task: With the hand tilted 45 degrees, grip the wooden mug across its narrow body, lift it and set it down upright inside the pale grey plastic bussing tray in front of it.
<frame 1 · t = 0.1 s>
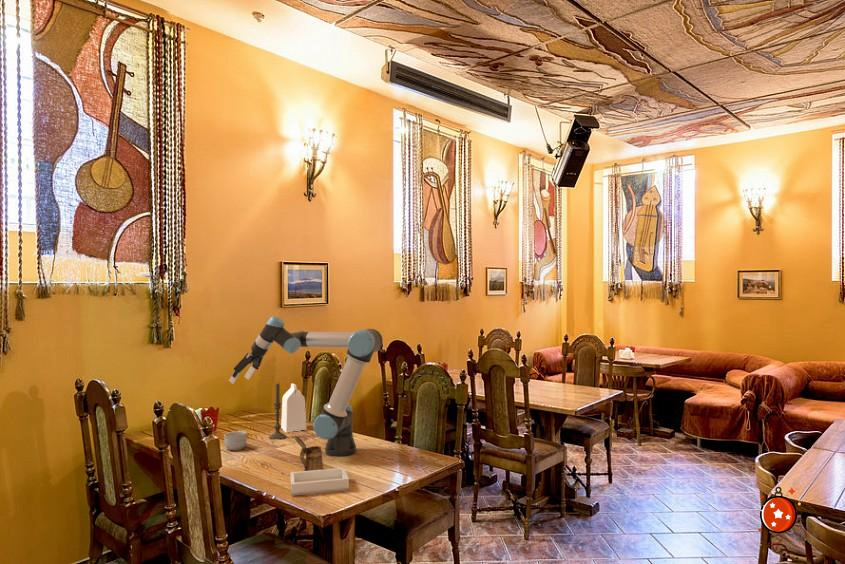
hand: (238, 380, 272), 36 cm above the table, tool tilted 35°, fingers open, 13 cm apart
teacup: (236, 448, 282), on the table
wooden mug: (309, 475, 238), on the table
candlestick holder: (277, 438, 302), on the table
tray: (319, 486, 223), on the table
milk: (293, 429, 321), on the table
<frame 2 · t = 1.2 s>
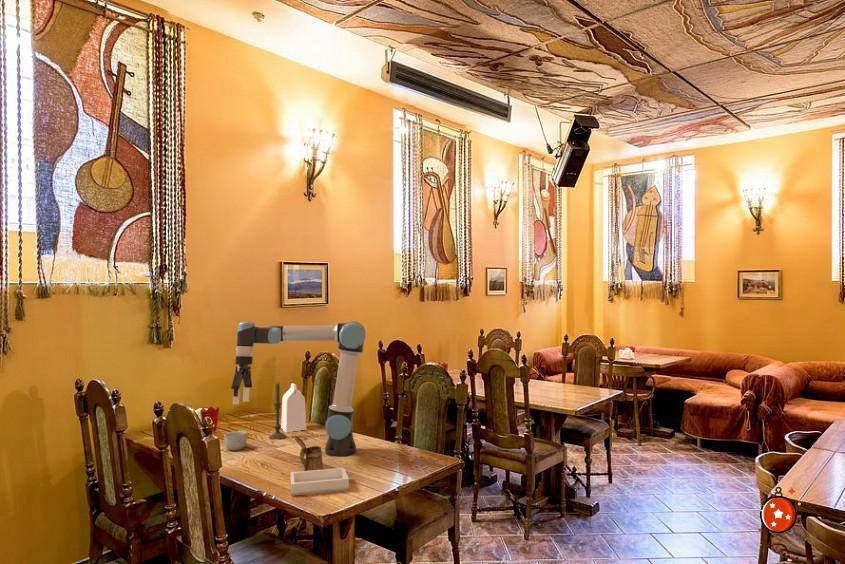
hand: (240, 402, 253), 28 cm above the table, tool pointing down, fingers open, 13 cm apart
nothing on the table moved.
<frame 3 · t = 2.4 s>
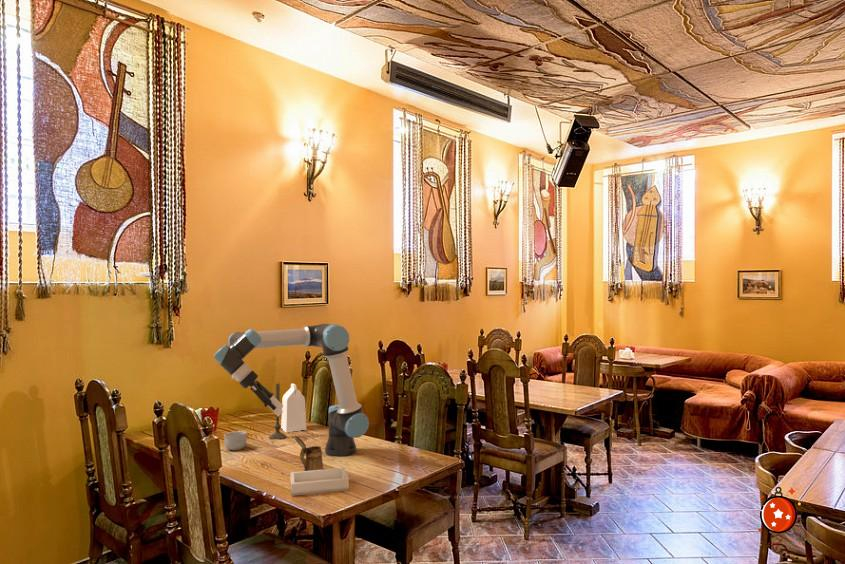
hand: (281, 411, 236), 28 cm above the table, tool tilted 45°, fingers open, 13 cm apart
nothing on the table moved.
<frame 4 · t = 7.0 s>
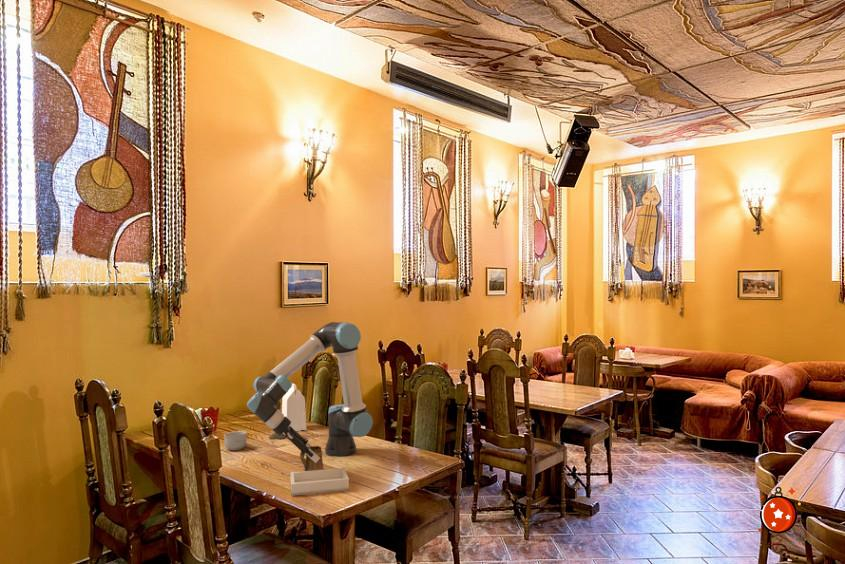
hand: (317, 457, 239), 7 cm above the table, tool tilted 45°, fingers open, 8 cm apart
wooden mug: (309, 475, 238), on the table, touching gripper
everything else where it was.
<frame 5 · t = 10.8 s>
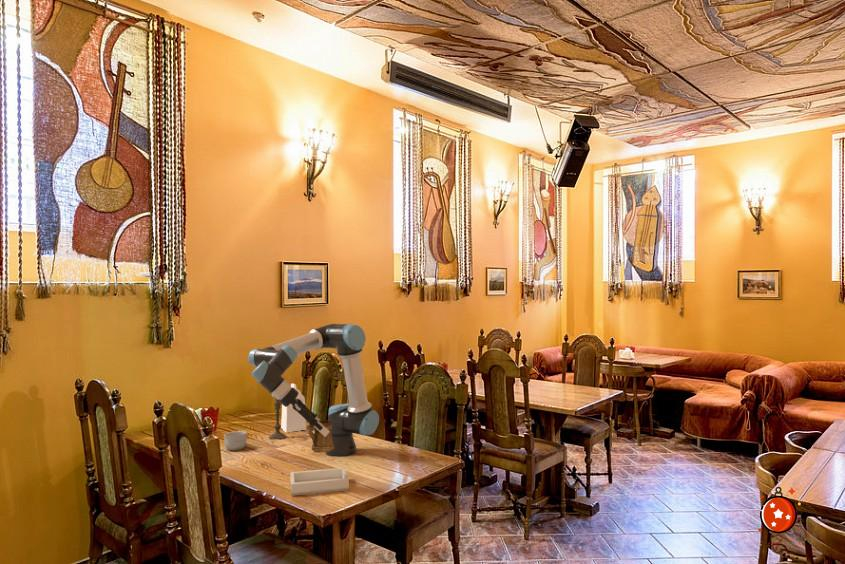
hand: (326, 431, 225), 22 cm above the table, tool tilted 45°, fingers closed on wooden mug, 7 cm apart
wooden mug: (317, 450, 223), point 14 cm above the table, touching gripper
everything else where it was.
when the fingers open (8 cm above the table, at t = 14.1 s): wooden mug stays where it is, resting on tray.
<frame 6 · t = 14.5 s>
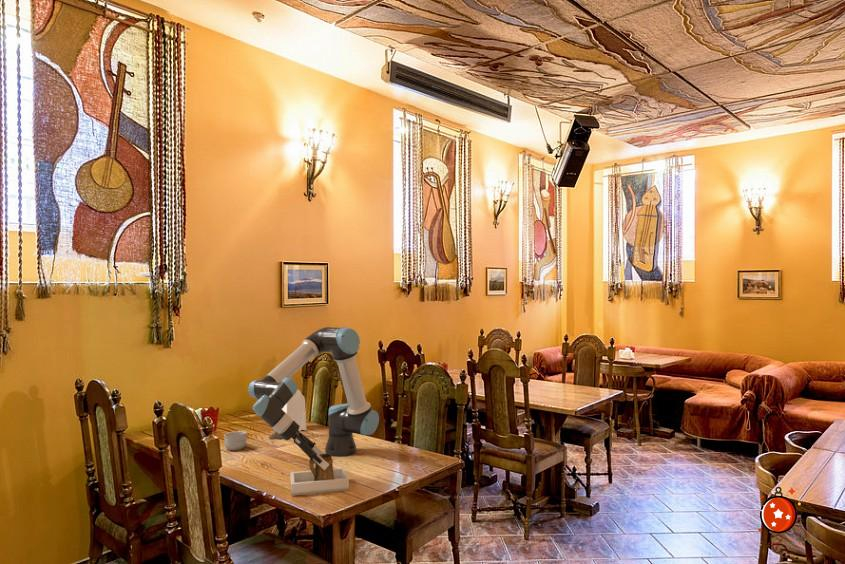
hand: (325, 462, 224), 9 cm above the table, tool tilted 45°, fingers open, 12 cm apart
wooden mug: (319, 485, 222), point 1 cm above the table, touching tray
everything else where it was.
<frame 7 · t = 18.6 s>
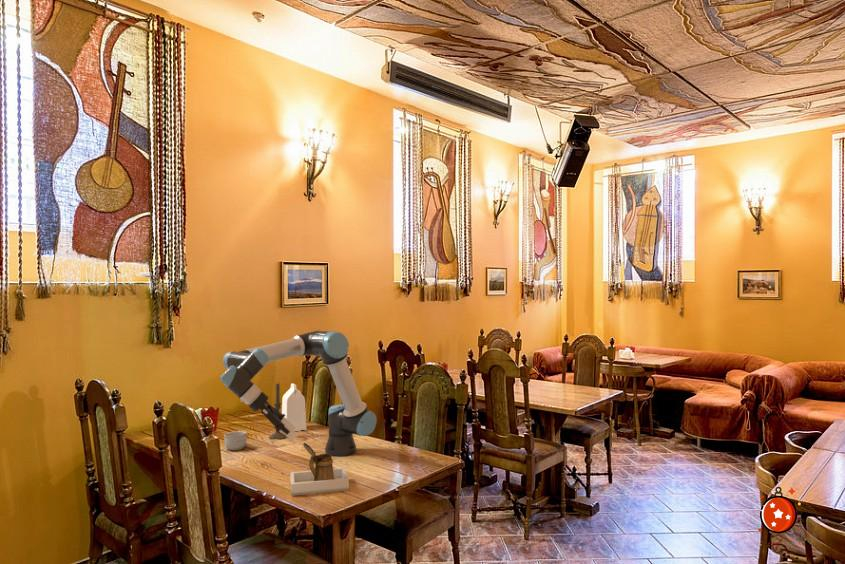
hand: (294, 434, 221), 22 cm above the table, tool tilted 45°, fingers open, 13 cm apart
nothing on the table moved.
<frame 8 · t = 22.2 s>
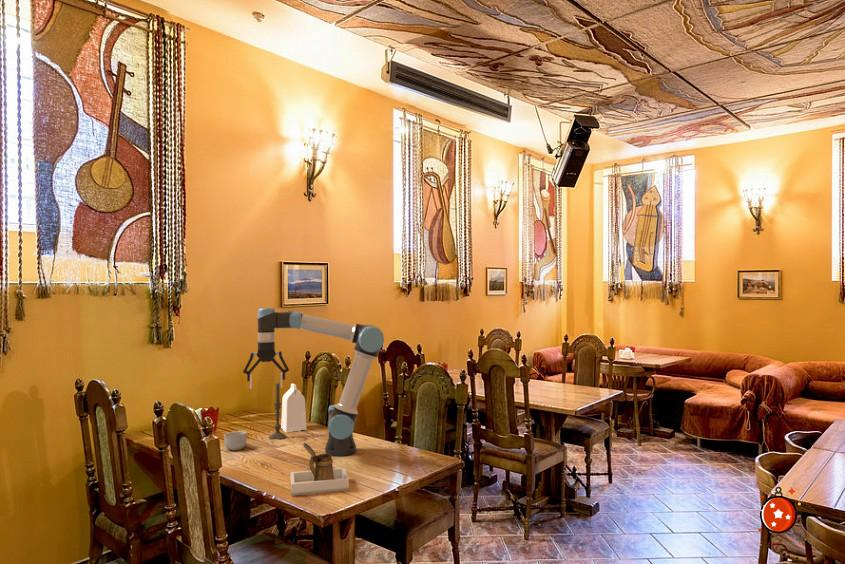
hand: (266, 387, 255), 35 cm above the table, tool pointing down, fingers open, 13 cm apart
nothing on the table moved.
at the end: wooden mug inside the target area on the tray (0.8 cm from its centre), point 0.8 cm above the tray's base; wooden mug tilted 0°; the gripper is holding nothing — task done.
